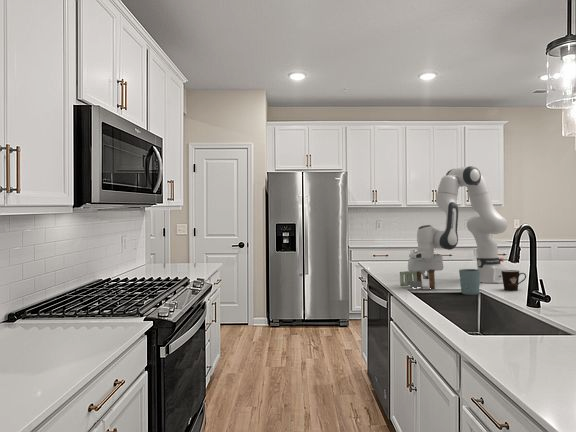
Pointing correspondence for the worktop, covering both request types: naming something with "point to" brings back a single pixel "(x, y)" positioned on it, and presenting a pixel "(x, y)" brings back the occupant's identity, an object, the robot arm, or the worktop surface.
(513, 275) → the coffee mug
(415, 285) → the rubber block
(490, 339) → the worktop surface
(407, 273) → the block
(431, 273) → the post
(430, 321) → the worktop surface
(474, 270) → the teal cup
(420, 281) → the hinge post
